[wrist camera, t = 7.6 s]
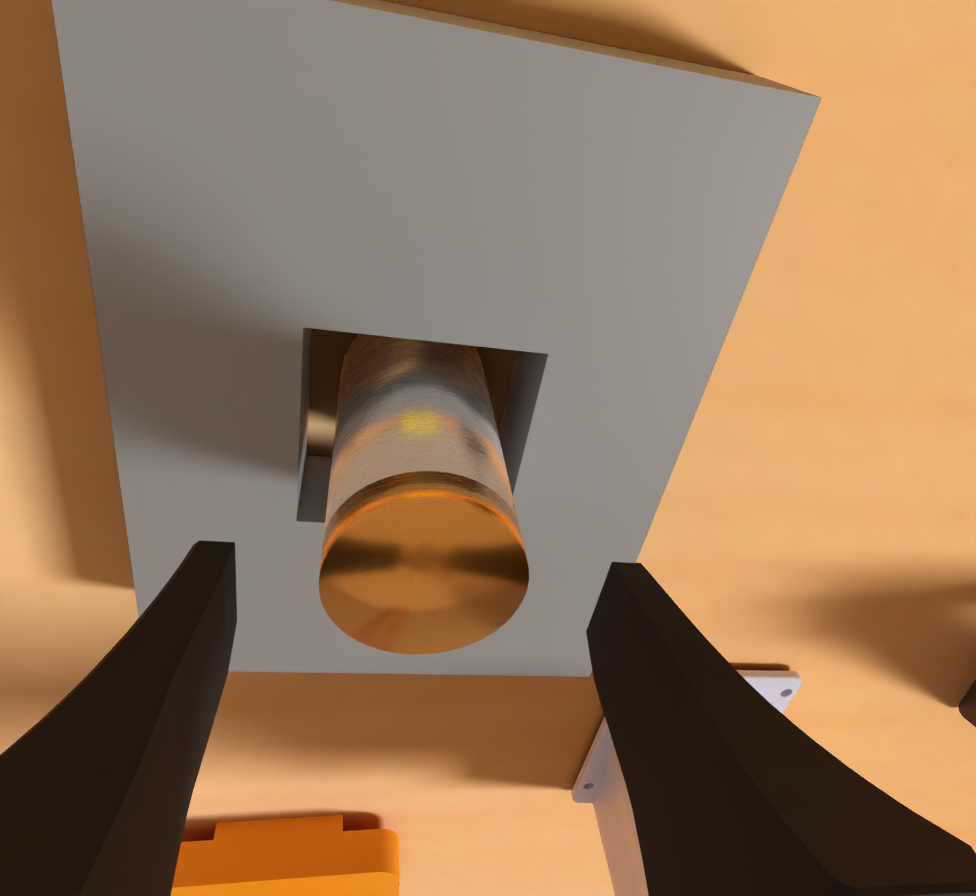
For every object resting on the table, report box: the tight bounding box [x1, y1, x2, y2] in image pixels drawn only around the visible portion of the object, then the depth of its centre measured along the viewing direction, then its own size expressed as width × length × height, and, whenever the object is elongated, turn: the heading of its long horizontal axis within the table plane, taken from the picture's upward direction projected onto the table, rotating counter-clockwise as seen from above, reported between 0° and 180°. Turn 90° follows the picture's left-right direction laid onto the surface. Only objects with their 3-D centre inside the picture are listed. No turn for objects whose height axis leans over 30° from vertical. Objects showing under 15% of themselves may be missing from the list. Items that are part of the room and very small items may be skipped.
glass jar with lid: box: [319, 334, 529, 655], centre depth 17 cm, size 4×4×8 cm
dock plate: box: [52, 0, 821, 677], centre depth 19 cm, size 18×14×3 cm
